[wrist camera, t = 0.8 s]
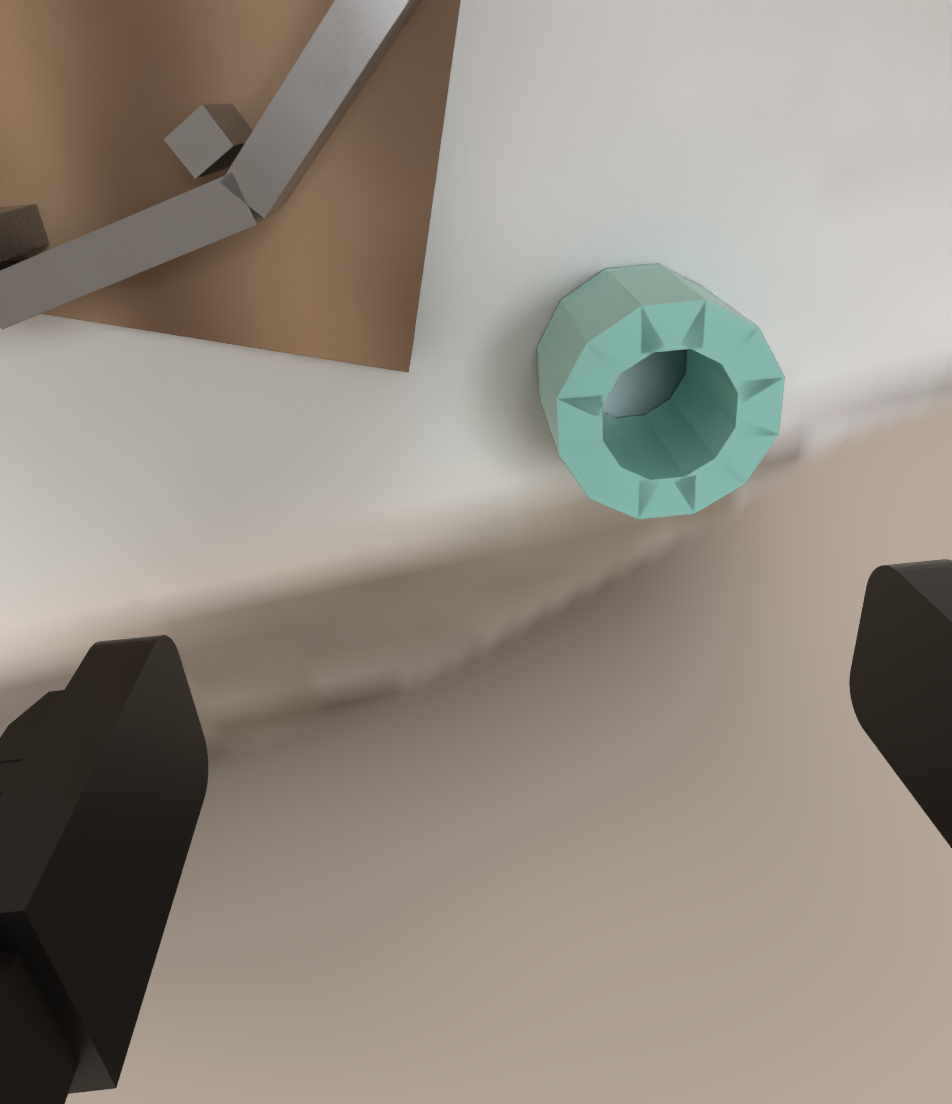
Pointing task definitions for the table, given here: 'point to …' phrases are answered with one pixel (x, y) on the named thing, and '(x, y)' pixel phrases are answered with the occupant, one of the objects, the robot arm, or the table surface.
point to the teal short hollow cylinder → (674, 426)
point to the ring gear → (210, 170)
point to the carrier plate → (158, 174)
